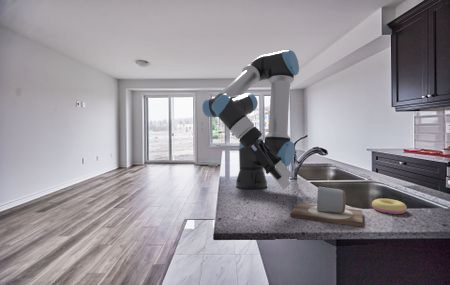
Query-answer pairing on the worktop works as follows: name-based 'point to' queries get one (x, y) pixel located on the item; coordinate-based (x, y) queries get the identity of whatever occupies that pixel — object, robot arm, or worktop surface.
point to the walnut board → (328, 215)
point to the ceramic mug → (331, 200)
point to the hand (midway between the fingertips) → (288, 181)
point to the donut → (389, 206)
